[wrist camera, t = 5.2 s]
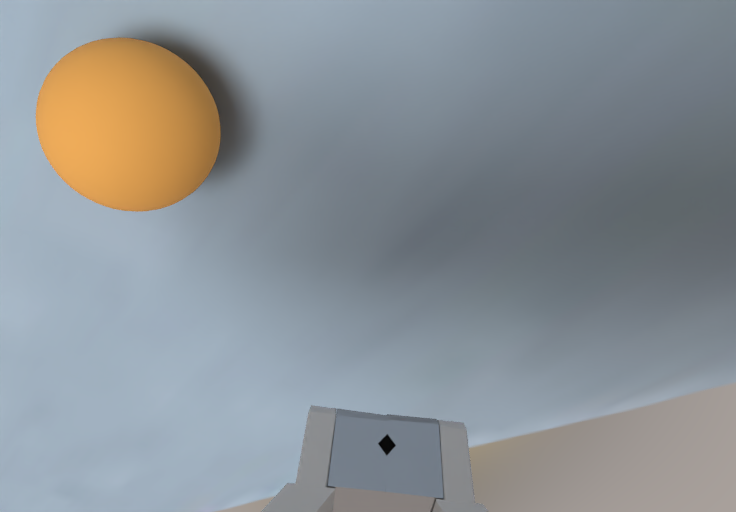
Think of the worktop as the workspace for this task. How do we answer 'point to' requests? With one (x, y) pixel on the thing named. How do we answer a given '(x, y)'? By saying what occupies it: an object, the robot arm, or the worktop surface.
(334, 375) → the worktop surface
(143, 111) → the ball
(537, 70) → the worktop surface
